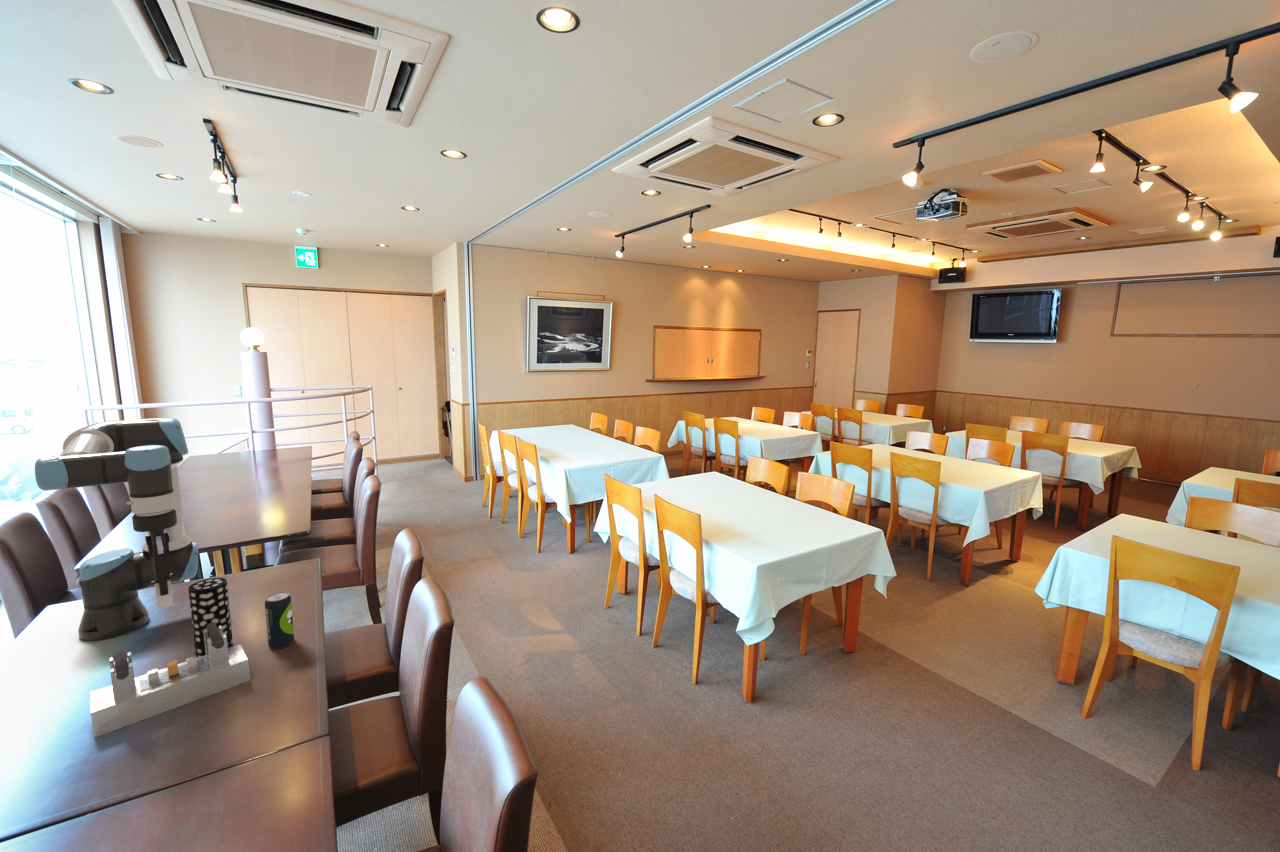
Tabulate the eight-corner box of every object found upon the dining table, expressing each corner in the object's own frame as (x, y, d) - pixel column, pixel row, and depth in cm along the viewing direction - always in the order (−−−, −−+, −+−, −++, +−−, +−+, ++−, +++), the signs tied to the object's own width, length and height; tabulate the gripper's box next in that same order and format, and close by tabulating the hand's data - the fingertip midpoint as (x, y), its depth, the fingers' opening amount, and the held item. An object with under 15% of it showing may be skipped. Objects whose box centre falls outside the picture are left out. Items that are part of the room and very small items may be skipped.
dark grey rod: (206, 631, 135) (205, 624, 134) (216, 628, 136) (215, 621, 136) (215, 651, 126) (214, 643, 126) (225, 648, 127) (224, 640, 127)
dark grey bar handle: (114, 658, 122) (113, 650, 122) (126, 654, 124) (125, 647, 124) (116, 682, 114) (115, 674, 113) (129, 678, 115) (128, 670, 115)
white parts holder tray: (93, 715, 120) (86, 662, 118) (242, 664, 140) (237, 618, 139) (94, 737, 113) (86, 682, 111) (250, 680, 134) (245, 632, 132)
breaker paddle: (167, 672, 126) (166, 663, 126) (177, 669, 127) (176, 660, 127) (168, 676, 125) (167, 666, 124) (178, 673, 126) (177, 663, 126)
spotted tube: (211, 660, 142) (204, 592, 139) (187, 656, 144) (180, 588, 141) (240, 643, 150) (234, 579, 147) (217, 640, 152) (210, 576, 149)
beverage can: (263, 647, 149) (259, 598, 147) (285, 636, 154) (281, 589, 152) (277, 652, 146) (273, 603, 144) (299, 641, 152) (295, 593, 150)
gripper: (130, 508, 122) (141, 602, 125) (133, 521, 113) (145, 621, 116) (172, 502, 127) (182, 592, 130) (178, 514, 118) (189, 609, 122)
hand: (165, 605), depth 123 cm, fingers closed
